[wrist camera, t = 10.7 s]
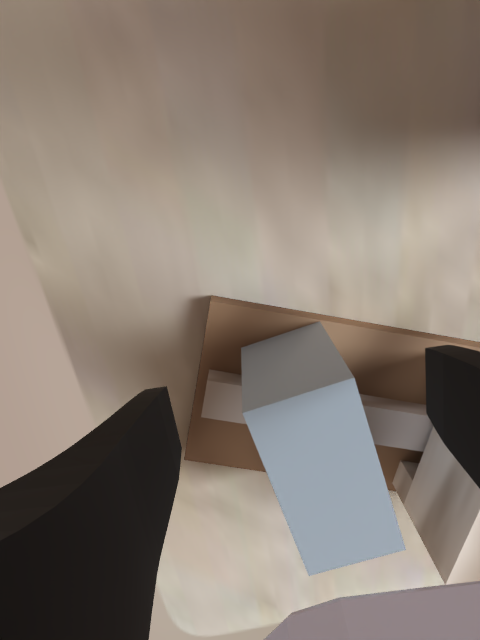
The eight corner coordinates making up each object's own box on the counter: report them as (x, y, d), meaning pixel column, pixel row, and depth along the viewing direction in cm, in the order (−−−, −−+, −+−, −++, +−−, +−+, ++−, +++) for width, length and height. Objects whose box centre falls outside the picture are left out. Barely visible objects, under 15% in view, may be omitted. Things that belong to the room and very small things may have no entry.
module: (319, 321, 19) (354, 377, 14) (364, 463, 22) (409, 560, 16) (241, 347, 20) (242, 412, 14) (293, 483, 22) (313, 586, 17)
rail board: (535, 351, 21) (674, 428, 14) (473, 491, 24) (565, 610, 17) (211, 295, 20) (198, 349, 13) (186, 448, 23) (164, 556, 16)
